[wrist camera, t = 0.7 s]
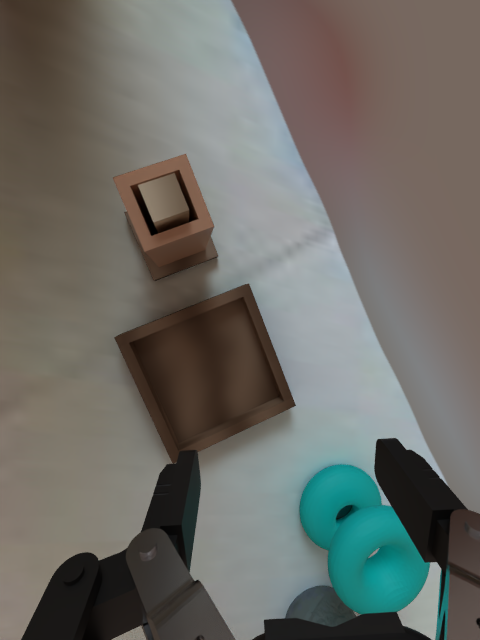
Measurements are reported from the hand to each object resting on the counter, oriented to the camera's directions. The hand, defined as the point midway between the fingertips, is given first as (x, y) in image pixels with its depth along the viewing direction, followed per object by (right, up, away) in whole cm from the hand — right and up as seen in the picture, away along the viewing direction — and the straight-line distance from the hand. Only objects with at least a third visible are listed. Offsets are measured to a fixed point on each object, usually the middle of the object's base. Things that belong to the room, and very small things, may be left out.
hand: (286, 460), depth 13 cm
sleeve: (-9, +15, +16) cm, 24 cm away
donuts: (+10, -16, +23) cm, 30 cm away
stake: (-9, +15, +17) cm, 24 cm away
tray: (-5, +1, +19) cm, 20 cm away
